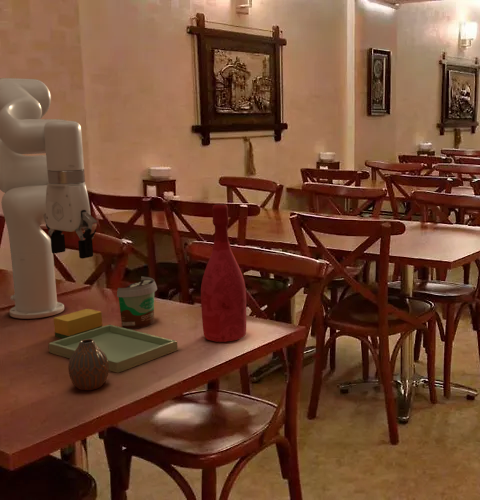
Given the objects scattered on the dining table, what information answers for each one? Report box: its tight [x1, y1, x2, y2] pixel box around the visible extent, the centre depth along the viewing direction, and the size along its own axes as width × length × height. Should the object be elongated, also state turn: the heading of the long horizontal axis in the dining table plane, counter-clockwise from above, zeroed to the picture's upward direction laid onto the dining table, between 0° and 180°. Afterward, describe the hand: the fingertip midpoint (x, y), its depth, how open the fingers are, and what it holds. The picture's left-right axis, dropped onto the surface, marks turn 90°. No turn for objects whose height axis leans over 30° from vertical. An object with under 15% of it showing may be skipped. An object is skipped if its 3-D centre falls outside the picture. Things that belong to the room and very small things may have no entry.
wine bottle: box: [200, 203, 247, 343], centre depth 155 cm, size 10×10×30 cm
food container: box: [116, 276, 158, 330], centre depth 166 cm, size 12×6×10 cm, turn 168°
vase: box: [68, 339, 110, 391], centre depth 128 cm, size 7×7×9 cm
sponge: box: [53, 308, 103, 339], centre depth 160 cm, size 5×9×4 cm, turn 147°
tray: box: [48, 324, 179, 374], centre depth 148 cm, size 22×16×2 cm
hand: (72, 254), depth 157 cm, fingers open, 9 cm apart
